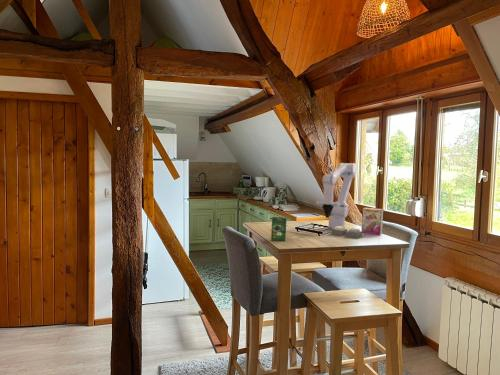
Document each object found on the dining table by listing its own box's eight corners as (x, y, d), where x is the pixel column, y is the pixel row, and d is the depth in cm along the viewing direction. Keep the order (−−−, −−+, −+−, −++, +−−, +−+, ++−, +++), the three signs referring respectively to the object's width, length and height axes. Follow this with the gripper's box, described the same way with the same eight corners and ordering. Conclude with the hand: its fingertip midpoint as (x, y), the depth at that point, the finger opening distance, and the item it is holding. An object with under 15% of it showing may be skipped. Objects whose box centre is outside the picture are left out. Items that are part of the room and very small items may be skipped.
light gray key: (348, 234, 223) (348, 229, 223) (352, 233, 227) (352, 228, 226) (356, 235, 220) (356, 230, 220) (359, 234, 224) (359, 229, 224)
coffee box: (285, 240, 219) (286, 216, 218) (286, 241, 216) (286, 217, 215) (271, 239, 219) (271, 216, 218) (271, 240, 216) (271, 217, 215)
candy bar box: (360, 235, 234) (362, 208, 233) (363, 234, 239) (364, 207, 237) (380, 237, 229) (381, 210, 227) (382, 236, 233) (383, 209, 231)
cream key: (334, 232, 229) (334, 227, 228) (337, 231, 232) (338, 226, 232) (341, 233, 226) (341, 228, 226) (344, 232, 229) (344, 227, 229)
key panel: (328, 237, 229) (329, 229, 228) (335, 234, 236) (336, 227, 235) (358, 241, 217) (358, 233, 217) (364, 239, 224) (364, 231, 224)
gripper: (314, 194, 235) (313, 216, 236) (336, 196, 226) (335, 219, 227) (320, 193, 240) (319, 215, 241) (342, 195, 231) (341, 218, 232)
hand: (327, 217), depth 234 cm, fingers closed
